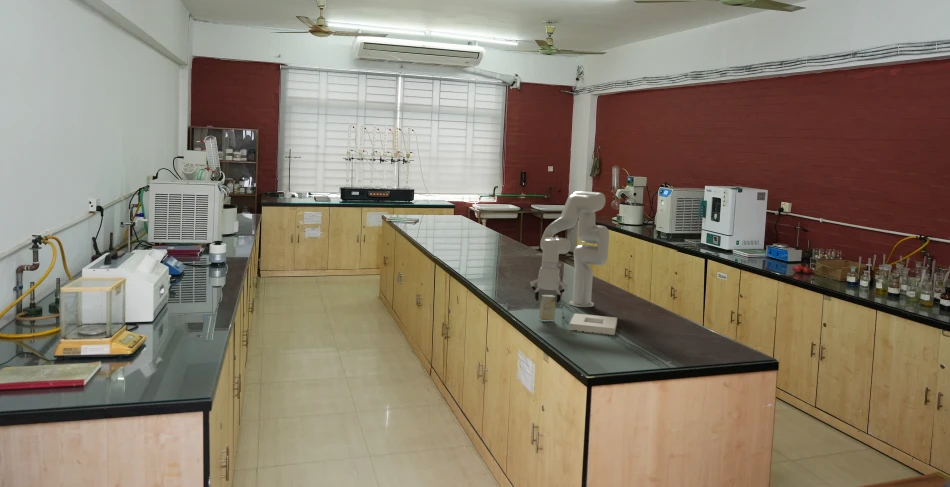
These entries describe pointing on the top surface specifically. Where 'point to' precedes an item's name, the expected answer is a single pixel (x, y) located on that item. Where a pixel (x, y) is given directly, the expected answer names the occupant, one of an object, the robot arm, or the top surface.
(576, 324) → the box stand
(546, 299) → the skincare box
